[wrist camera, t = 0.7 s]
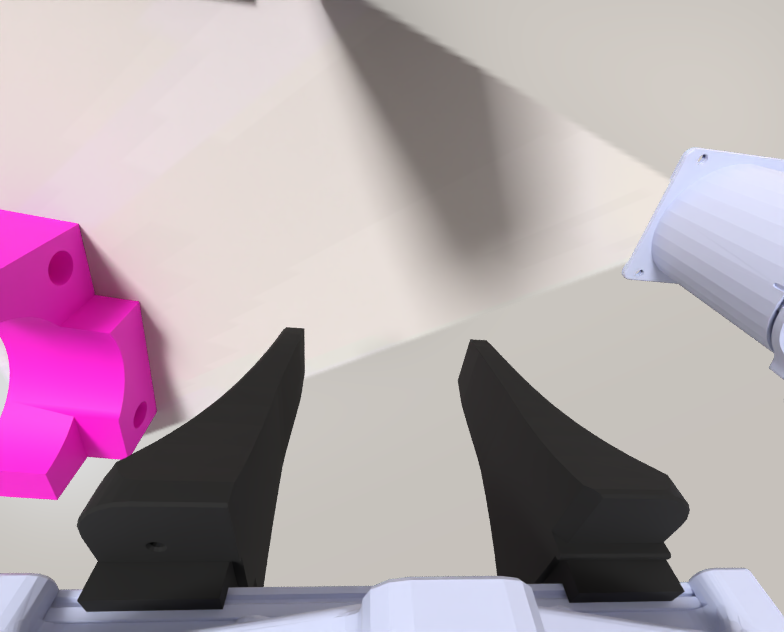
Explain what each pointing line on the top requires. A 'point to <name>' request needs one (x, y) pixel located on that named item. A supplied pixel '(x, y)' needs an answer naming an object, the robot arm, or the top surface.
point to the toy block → (64, 361)
